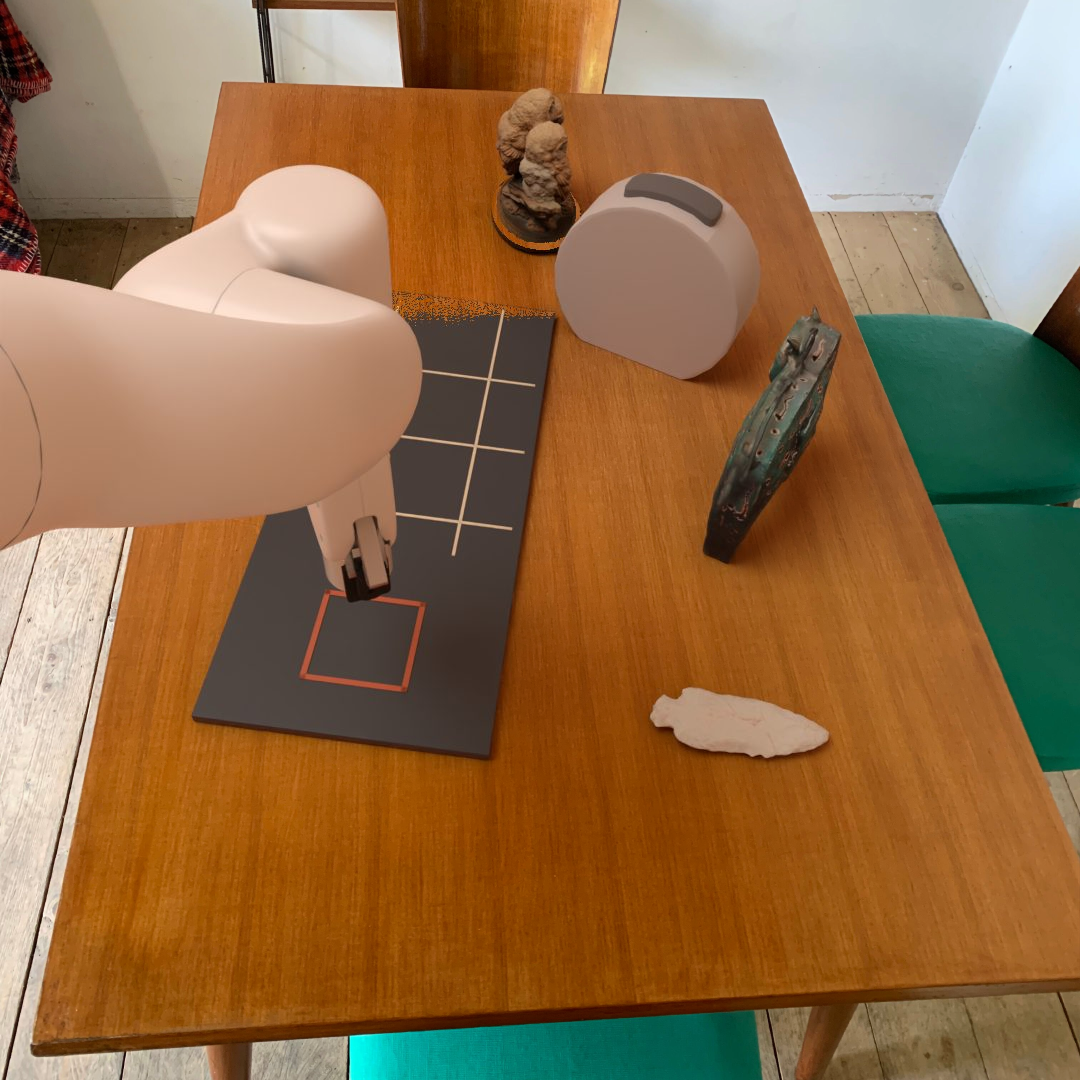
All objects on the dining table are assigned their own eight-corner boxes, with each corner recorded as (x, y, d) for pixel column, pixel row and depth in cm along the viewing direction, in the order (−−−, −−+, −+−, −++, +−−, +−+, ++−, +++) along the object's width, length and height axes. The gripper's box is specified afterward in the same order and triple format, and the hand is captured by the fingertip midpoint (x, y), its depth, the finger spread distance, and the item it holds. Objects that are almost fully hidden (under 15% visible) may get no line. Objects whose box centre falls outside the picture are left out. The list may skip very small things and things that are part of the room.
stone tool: (647, 750, 76) (829, 769, 75) (650, 738, 74) (836, 757, 74) (648, 690, 80) (822, 708, 79) (651, 677, 78) (829, 695, 77)
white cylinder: (334, 601, 66) (328, 569, 63) (317, 549, 69) (311, 515, 66) (401, 583, 68) (398, 551, 65) (382, 532, 70) (379, 499, 67)
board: (488, 760, 74) (488, 754, 73) (193, 721, 74) (190, 715, 73) (554, 318, 108) (555, 310, 107) (353, 291, 108) (352, 284, 107)
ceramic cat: (753, 426, 100) (810, 271, 84) (809, 449, 98) (879, 297, 82) (682, 550, 88) (733, 400, 73) (745, 579, 87) (811, 432, 71)
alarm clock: (739, 355, 107) (788, 202, 91) (716, 393, 102) (765, 239, 87) (575, 292, 111) (595, 136, 96) (547, 326, 107) (563, 169, 91)
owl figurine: (591, 260, 115) (610, 130, 102) (498, 262, 114) (505, 130, 100) (570, 180, 126) (584, 53, 113) (484, 181, 125) (488, 51, 111)
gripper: (240, 305, 57) (282, 493, 72) (302, 506, 48) (337, 674, 63) (358, 284, 59) (376, 470, 74) (439, 472, 50) (442, 643, 65)
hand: (358, 562), depth 68 cm, fingers closed on white cylinder, 5 cm apart
